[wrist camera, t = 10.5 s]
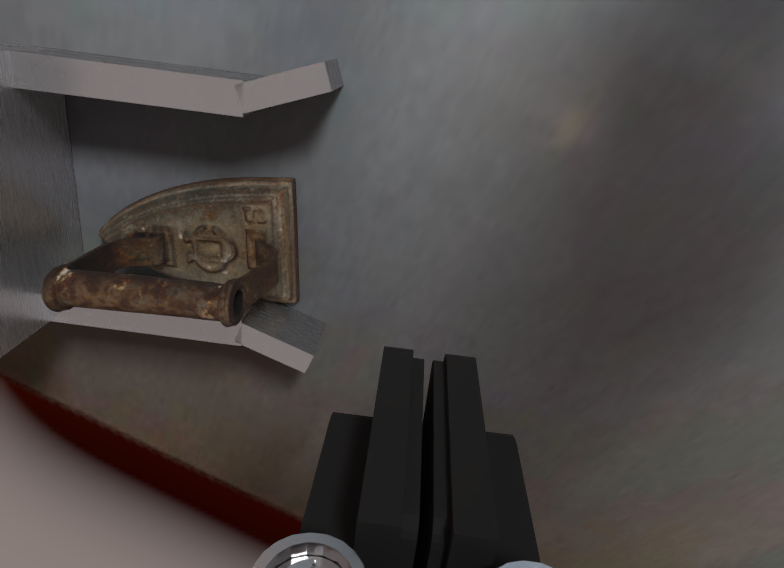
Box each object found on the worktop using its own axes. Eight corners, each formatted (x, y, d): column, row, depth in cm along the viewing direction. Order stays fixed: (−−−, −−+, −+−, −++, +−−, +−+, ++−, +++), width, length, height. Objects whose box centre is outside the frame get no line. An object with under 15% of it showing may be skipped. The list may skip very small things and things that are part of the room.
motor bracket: (345, 60, 26) (301, 69, 17) (323, 341, 32) (283, 459, 23) (-28, 12, 26) (-273, -4, 17) (22, 301, 32) (-137, 404, 23)
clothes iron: (317, 294, 32) (220, 406, 24) (153, 265, 35) (15, 354, 27) (310, 177, 29) (194, 259, 20) (129, 155, 31) (-38, 218, 23)
